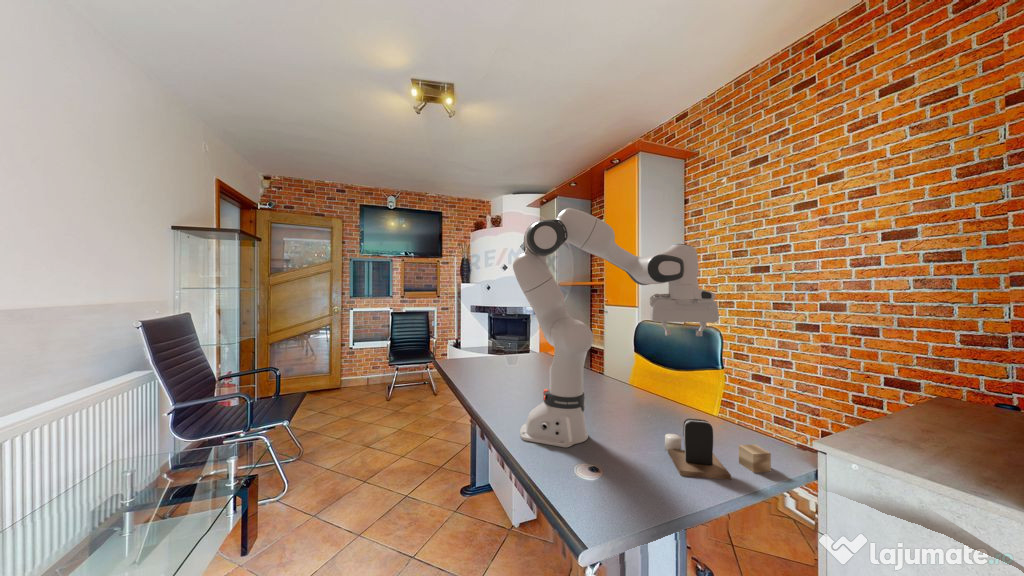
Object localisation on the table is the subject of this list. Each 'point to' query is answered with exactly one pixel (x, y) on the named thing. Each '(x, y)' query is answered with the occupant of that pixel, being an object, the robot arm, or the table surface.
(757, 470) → the oak cube
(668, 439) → the plastic capsule
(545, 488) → the table surface
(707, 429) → the battery charger
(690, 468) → the walnut pad
